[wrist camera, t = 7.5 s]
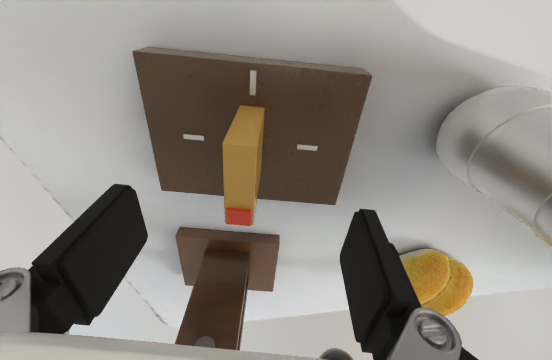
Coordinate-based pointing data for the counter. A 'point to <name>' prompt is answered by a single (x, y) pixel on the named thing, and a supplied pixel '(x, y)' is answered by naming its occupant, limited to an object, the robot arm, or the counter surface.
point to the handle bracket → (222, 282)
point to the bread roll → (438, 280)
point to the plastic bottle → (504, 151)
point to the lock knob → (243, 165)
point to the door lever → (335, 355)
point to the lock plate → (277, 120)
